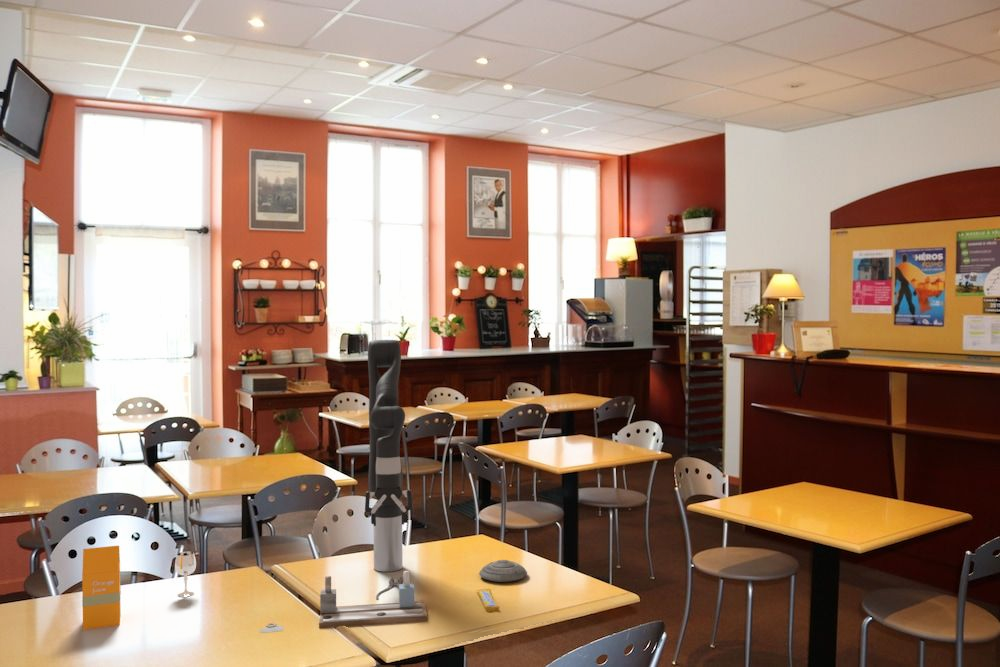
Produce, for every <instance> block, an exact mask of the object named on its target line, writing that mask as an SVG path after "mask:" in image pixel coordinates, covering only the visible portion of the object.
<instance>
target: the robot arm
mask: <svg viewBox="0 0 1000 667" xmlns="http://www.w3.org/2000/svg"><path fill="white" fill-rule="evenodd" d="M401 362H402V348H401V344H400V342H399V341H398V340H396V339H374V340H370V341H369V342H368V345H367V365H368V366H367V367H368V380H369V381H368V384H369V386H368V387H369V395H368V397H369V398H368V400H369V401H368V425H369V426H368V428H369V429H368V431H369V459H368V462H369V463H368V479H367V480H368V481H367V482H368V489H369V490H367V491H365V499H364V501H365V503H364V504H365V506H364V511H365V512H366V513H369V514H370V518H371V519H370V524H371V525H372V526H373V569H374V570H375V571H377V572H381V573H382V572H383V573H384V572H385V573H386V572H387V573H389V572H396V571H398V570H402V568H403V525H405V523H406V522H407V512H408V511H411V510H413V503H412V502H413V499H412V491H411V489H406V490H403V481H404V480H403V479H404V478H403V476H404V474H403V469H402V467H401V466H402V465H401V457H400V453H401V452H400V451H401V450H400V446H401V445H400V444H401V443H400V441H401V435H402V431H403V427H404V424H405V420H406V413H405V412H406V411H405V410H404V408H403V407H401V406H399V405H398V404H399V378H400V373H401V365H402V364H401ZM378 368H388V369H387V370H386V372H384V373H383V374H382V375H381V376H380V373H379V370H378ZM403 495H404V498H406V500H407V505H406V506H405V505H404V504H403V499H402V498H403ZM373 496H374V497H375V498H376V502H375V504H374V505H373V506H372V507H370V500H372V499H373Z"/></svg>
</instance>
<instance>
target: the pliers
mask: <svg viewBox="0 0 1000 667" xmlns="http://www.w3.org/2000/svg"><path fill="white" fill-rule="evenodd" d="M388 584H389V585H388V587H386V588H384V589H382V590H381V591H378V593H377V594H376V596H375V599H376V601H379V600H380V599H379V598H380V595H382V594H384V593H385V592H388V591H390V590H392V589H394V588H397V589H398V590H399V584H404V579H403V578H402V576H400V578H399V579H398V580H397V581H395V579H394V577H391V578H390V579H389V580H388Z"/></svg>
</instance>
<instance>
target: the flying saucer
mask: <svg viewBox="0 0 1000 667" xmlns="http://www.w3.org/2000/svg"><path fill="white" fill-rule="evenodd" d="M478 575H479V576H480V577H481V578H483V579H485V580H487V581H491V582H497V583H498V582H499V583H508V582H514V581H520V580H522V579H524V578H526V576H527V575H528V571H527V570H526V569H525V567H523V566H522V565H521V564H520V563H517V562H515V561H511V560H508V559H499V560H496V561H492V562H488V564H485V565H484V566H483V567H482V568H481V569H480V570H479V572H478Z"/></svg>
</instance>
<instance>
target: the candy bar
mask: <svg viewBox="0 0 1000 667" xmlns="http://www.w3.org/2000/svg"><path fill="white" fill-rule="evenodd" d="M476 594H478V597H479V599H480V600H481V603H482V605H483V607H484V609H485V611H486V612H496V611H499V610H500V606H498V605H497V603H496V601H495V599H494V597H493V595H492V589H491V588H483V589H481V588H480V589H477V590H476Z"/></svg>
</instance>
